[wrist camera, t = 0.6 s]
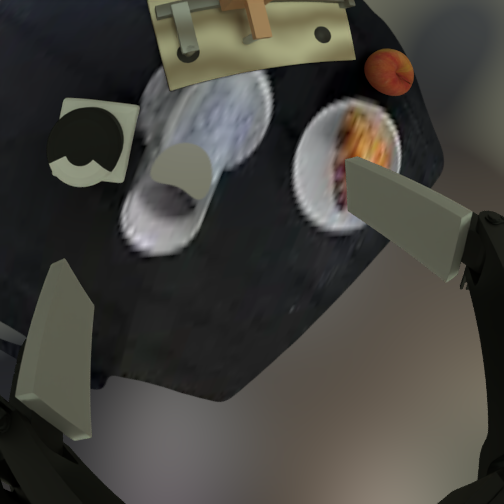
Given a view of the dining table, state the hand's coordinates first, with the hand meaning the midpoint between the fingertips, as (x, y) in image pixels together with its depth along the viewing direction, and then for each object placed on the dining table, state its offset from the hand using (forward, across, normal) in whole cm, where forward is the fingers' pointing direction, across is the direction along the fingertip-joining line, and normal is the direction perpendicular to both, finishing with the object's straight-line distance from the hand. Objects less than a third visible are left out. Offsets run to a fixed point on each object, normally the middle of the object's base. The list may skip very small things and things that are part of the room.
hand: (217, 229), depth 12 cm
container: (+26, -7, +4) cm, 27 cm away
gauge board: (+26, +15, +13) cm, 32 cm away
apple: (+26, +32, +4) cm, 41 cm away
